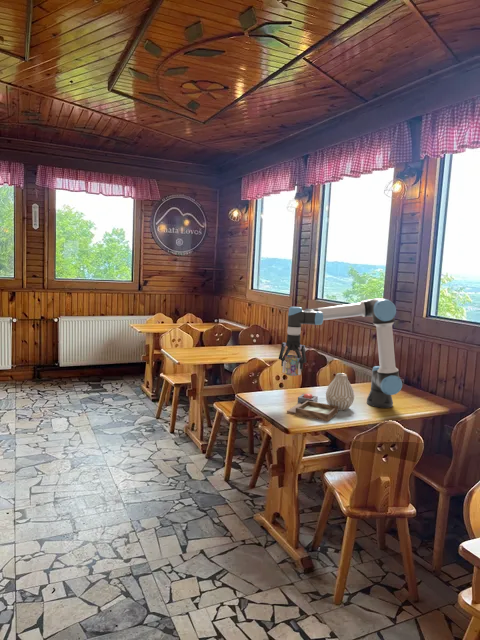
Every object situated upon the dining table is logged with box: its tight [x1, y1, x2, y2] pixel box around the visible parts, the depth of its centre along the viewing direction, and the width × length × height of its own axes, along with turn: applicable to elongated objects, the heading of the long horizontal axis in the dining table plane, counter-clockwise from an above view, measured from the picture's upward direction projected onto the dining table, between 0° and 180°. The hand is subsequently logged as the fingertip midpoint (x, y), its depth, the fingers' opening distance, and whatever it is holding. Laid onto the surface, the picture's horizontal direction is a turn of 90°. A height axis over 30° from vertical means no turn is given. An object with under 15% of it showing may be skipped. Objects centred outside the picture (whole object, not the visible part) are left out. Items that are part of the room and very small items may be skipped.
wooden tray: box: [286, 401, 339, 422], centre depth 256 cm, size 23×18×4 cm
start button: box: [303, 393, 313, 399], centre depth 274 cm, size 5×5×4 cm
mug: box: [284, 354, 300, 377], centre depth 266 cm, size 12×9×11 cm
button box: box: [297, 393, 319, 404], centre depth 274 cm, size 9×9×4 cm
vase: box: [325, 372, 355, 411], centre depth 267 cm, size 16×16×20 cm
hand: (291, 373), depth 266 cm, fingers closed on mug, 9 cm apart
